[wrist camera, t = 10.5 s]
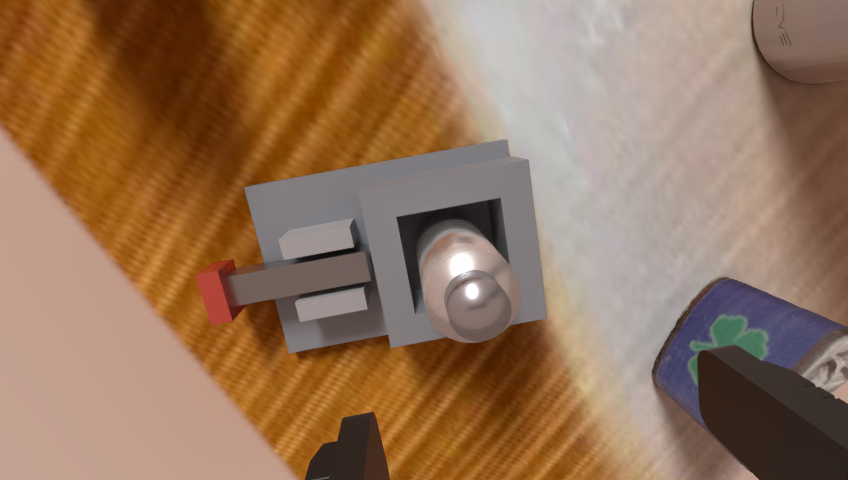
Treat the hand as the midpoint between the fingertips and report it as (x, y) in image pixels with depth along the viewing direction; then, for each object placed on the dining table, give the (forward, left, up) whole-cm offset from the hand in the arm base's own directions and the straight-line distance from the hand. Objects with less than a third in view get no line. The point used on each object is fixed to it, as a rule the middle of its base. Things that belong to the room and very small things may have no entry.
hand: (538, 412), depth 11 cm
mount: (+4, 0, -18) cm, 19 cm away
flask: (-16, +10, -19) cm, 27 cm away
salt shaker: (0, 0, -18) cm, 18 cm away
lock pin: (+10, 0, -17) cm, 20 cm away
